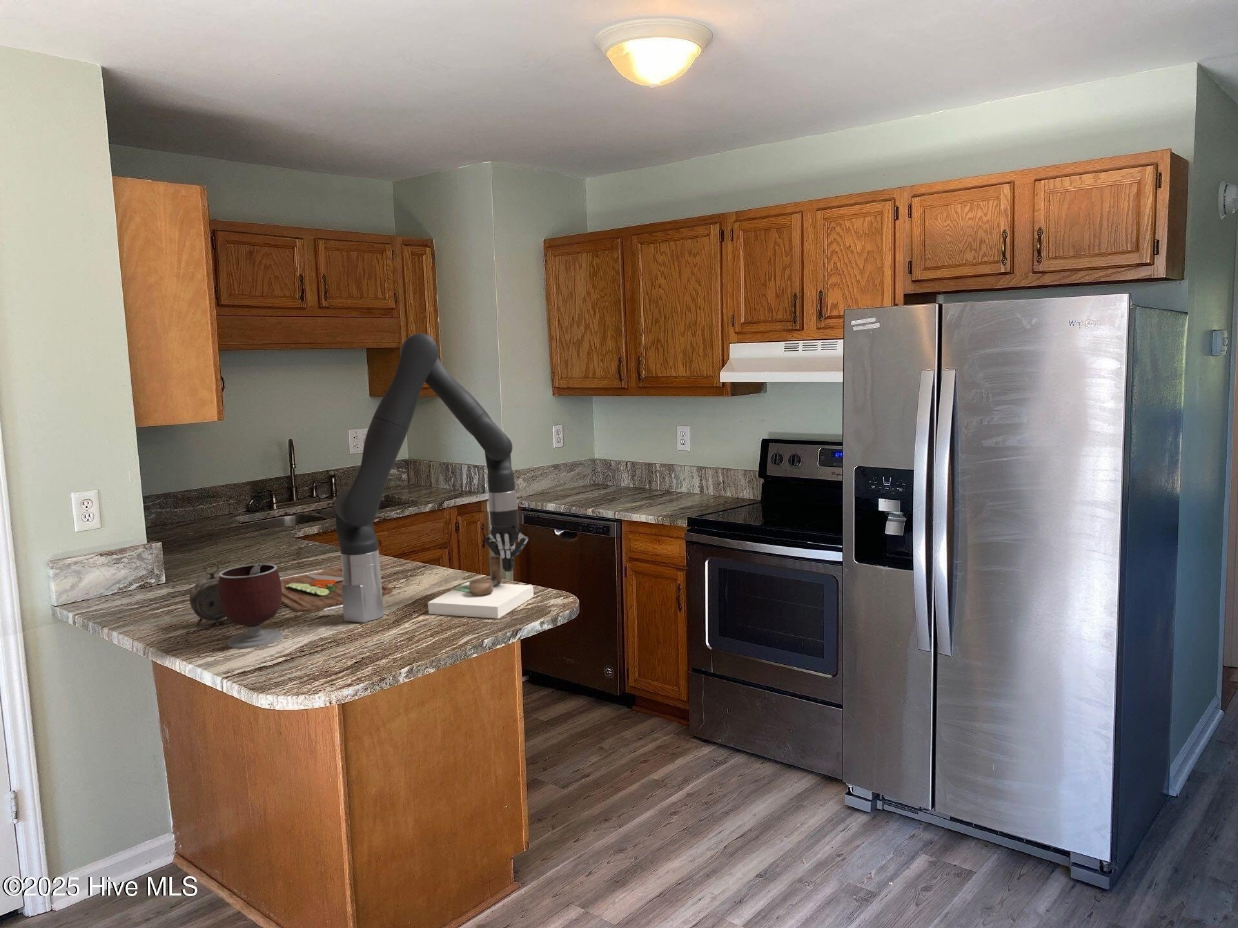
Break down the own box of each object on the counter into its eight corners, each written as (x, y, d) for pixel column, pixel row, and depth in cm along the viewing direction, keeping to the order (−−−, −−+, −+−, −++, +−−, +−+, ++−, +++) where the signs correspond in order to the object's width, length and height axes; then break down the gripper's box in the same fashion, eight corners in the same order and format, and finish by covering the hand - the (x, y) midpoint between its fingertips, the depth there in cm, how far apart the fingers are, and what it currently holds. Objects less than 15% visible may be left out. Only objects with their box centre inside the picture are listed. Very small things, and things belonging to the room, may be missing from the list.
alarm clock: (237, 617, 237) (231, 556, 235) (241, 621, 233) (235, 560, 231) (192, 625, 231) (185, 563, 229) (195, 630, 227) (188, 567, 225)
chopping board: (251, 586, 271) (250, 576, 271) (338, 569, 287) (337, 560, 287) (304, 617, 236) (302, 606, 235) (399, 596, 252) (399, 585, 252)
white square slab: (498, 618, 225) (497, 605, 224) (428, 613, 232) (427, 601, 231) (533, 596, 243) (532, 584, 243) (468, 592, 250) (467, 580, 250)
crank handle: (486, 595, 233) (484, 568, 232) (465, 594, 235) (463, 567, 234) (508, 581, 246) (507, 556, 245) (488, 580, 248) (487, 555, 247)
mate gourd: (216, 640, 218) (207, 559, 215) (274, 627, 227) (266, 548, 224) (237, 655, 206) (227, 569, 203) (297, 640, 215) (289, 558, 212)
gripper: (474, 510, 240) (480, 574, 242) (519, 510, 235) (524, 575, 238) (488, 505, 247) (494, 567, 249) (531, 504, 242) (537, 568, 244)
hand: (509, 570), depth 243 cm, fingers closed
